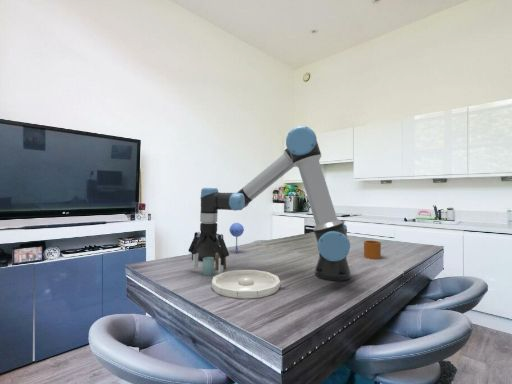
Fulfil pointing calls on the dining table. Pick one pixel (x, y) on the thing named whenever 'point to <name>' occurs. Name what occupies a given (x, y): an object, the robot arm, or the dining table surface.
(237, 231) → the baby rattle
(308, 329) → the dining table surface
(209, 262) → the teal cylinder
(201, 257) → the planter
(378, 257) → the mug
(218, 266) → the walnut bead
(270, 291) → the round cream tray
